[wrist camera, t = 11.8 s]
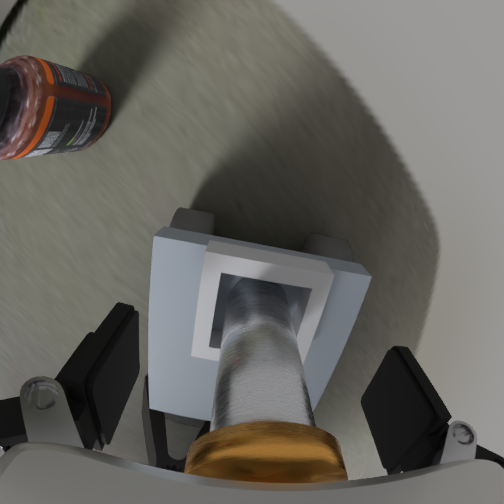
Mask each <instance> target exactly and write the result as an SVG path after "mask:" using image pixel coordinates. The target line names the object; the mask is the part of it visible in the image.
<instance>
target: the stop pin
mask: <svg viewBox="0 0 504 504" xmlns="http://www.w3.org/2000/svg"><path fill="white" fill-rule="evenodd" d="M184 473H186V474H191V475H197V476H204V477H210V478H218V479H226V480H235V481H247V482H263V483H322V482H338V481H348V476H347V472H346V468H345V464H344V460H343V456H342V452H341V448H340V445H339V443H338V441H337V440H336V438H335V437H334V436H332V435H331V434H330V433H328V432H326V431H324V430H322V429H320V428H317V427H316V425H315V421H314V416H313V411H312V406H311V402H310V397H309V393H308V388H307V383H306V379H305V374H304V370H303V365H302V361H301V357H300V352H299V348H298V343H297V339H296V335H295V330H294V326H293V322H292V318H291V313H290V309H289V305H288V301H287V297H286V293H285V291H284V289H283V288H282V287H281V285H280V284H278V283H276V282H270V281H264V280H259V279H253V278H248V277H247V278H245V279H243V280H241V281H239V282H238V283H236V284H235V285H234V286H233V288H232V289H231V291H230V292H229V295H228V298H227V305H226V312H225V319H224V327H223V334H222V341H221V348H220V356H219V363H218V370H217V378H216V386H215V393H214V401H213V409H212V417H211V425H210V432H209V433H206V434H205V435H203V436H201V437H199V438H198V439H197V440H195V441H194V442H193V443H192V444H191V446H190V447H189V449H188V453H187V458H186V464H185V470H184Z"/></svg>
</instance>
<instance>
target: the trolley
mask: <svg viewBox="0 0 504 504" xmlns="http://www.w3.org/2000/svg"><path fill="white" fill-rule="evenodd" d="M214 224H215V214H214V213H209V212H203V211H198V210H192V209H186V208H178V209H177V211H176V212H175V214H174V216H173V219H172V222H171V224H170V227H163V228H162V229H161V230H160V231H159V232H157V233H156V234H155V235H154V240H153V251H152V264H151V278H150V296H149V322H148V383H149V408H150V409H154V410H158V411H162V412H167V413H171V414H176V415H180V416H185V417H190V418H196V419H201V420H207V421H211V417H212V409H213V401H214V393H215V386H216V378H217V370H218V363H219V356H220V348H221V341H222V334H223V327H224V319H225V312H226V305H227V298H228V295H229V292H230V291H231V289H232V288H233V286H234V285H235V284H236V283H238V282H239V281H241V280H243V279H245V278H247V277H248V278H253V279H259V280H264V281H270V282H276V283H278V284H280V285H281V287H282V288H283V289H284V291H285V293H286V297H287V301H288V305H289V309H290V313H291V318H292V322H293V326H294V330H295V335H296V339H297V343H298V348H299V352H300V357H301V361H302V365H303V370H304V374H305V379H306V383H307V388H308V393H309V397H310V402H311V406H312V411H314V409H315V407H316V406H317V404H318V402H319V400H320V398H321V396H322V394H323V392H324V390H325V388H326V386H327V384H328V382H329V380H330V377H331V375H332V373H333V371H334V369H335V367H336V365H337V362H338V360H339V358H340V356H341V354H342V351H343V349H344V347H345V345H346V342H347V340H348V338H349V335H350V333H351V330H352V328H353V326H354V323H355V321H356V318H357V316H358V313H359V310H360V308H361V305H362V303H363V300H364V297H365V295H366V292H367V289H368V287H369V284H370V281H371V278H372V276H371V275H370V274H369V273H368V271H367V270H366V269H365V268H364V267H363V266H362V265H361V264H359V263H354V262H353V256H352V250H351V247H350V244H349V243H348V241H346V240H344V239H339V238H334V237H330V236H325V235H320V234H316V233H311V234H310V235H309V236H308V238H307V239H306V241H305V244H304V246H303V249H302V252H297V251H292V250H287V249H282V248H277V247H271V246H266V245H261V244H256V243H250V242H245V241H240V240H234V239H229V238H224V237H218V236H213V232H214Z"/></svg>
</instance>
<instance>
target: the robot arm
mask: <svg viewBox="0 0 504 504" xmlns="http://www.w3.org/2000/svg"><path fill="white" fill-rule="evenodd" d="M139 369H140V363H139V313H138V311H135V310H134V306H132V305H128V304H124V303H120V302H118V303H117V304H116V305H115V306H114V308H113V309H112V310H111V311H110V313H109V314H108V315H107V317H106V318H105V319H104V321H103V322H102V323H101V325H100V326H99V327H98V329H97V330H96V331H95V333H94V332H89V333H88V334H87V335H86V337H85V338H84V339H83V341H82V342H81V343H80V345H79V346H78V347H77V349H76V350H75V351H74V353H73V354H72V356H71V357H70V358H69V360H68V361H67V362H66V364H65V365H64V367H63V368H62V369H61V371H60V372H59V374H58V375H57V377H56V378H55V379H52V378H49V377H45V376H42V377H35V378H31V379H30V380H28V381H26V382H25V383H24V385H23V386H22V388H21V390H20V396H19V397H14V398H9V399H4V400H0V504H504V458H503V457H501V456H499V455H497V454H495V453H493V452H491V451H489V450H487V449H485V448H483V447H481V446H479V445H477V435H476V432H475V431H474V429H473V428H472V427H471V426H470V425H469V424H467V423H466V422H463V421H454V422H452V423H451V424H450V425H448V423H447V422H448V421H449V420H450V419H451V417H452V416H451V415H450V413H449V411H448V410H447V408H446V406H445V405H444V403H443V401H442V400H441V398H440V397H439V395H438V393H437V391H436V390H435V388H434V387H433V385H432V383H431V382H430V380H429V379H428V377H427V376H426V374H425V373H424V371H423V370H422V368H421V367H420V365H419V363H418V362H417V360H416V359H415V357H414V356H413V354H412V353H411V351H410V350H409V348H408V347H403V346H393V347H392V348H391V349H390V350H388V351H387V353H386V355H385V357H384V359H383V361H382V363H381V364H380V366H379V368H378V370H377V372H376V374H375V375H374V377H373V379H372V381H371V382H370V384H369V386H368V388H367V389H366V391H365V393H364V394H363V396H362V398H361V406H362V408H363V411H364V414H365V417H366V419H367V422H368V425H369V428H370V431H371V433H372V436H373V439H374V442H375V445H376V448H377V451H378V454H379V457H380V459H381V462H382V465H383V467H384V468H385V469H386V470H387V473H388V475H387V476H380V477H374V478H366V479H358V480H349V481H338V482H322V483H263V482H247V481H235V480H226V479H218V478H210V477H204V476H197V475H191V474H186V473H181V472H176V471H171V470H166V469H161V468H157V467H152V466H148V465H144V464H140V463H136V462H133V461H129V460H125V459H122V458H118V457H115V456H111V455H107V454H104V453H100V452H97V451H93V450H92V449H93V448H95V449H98V450H101V451H102V449H103V447H104V444H107V445H109V444H110V442H111V440H112V437H113V435H114V432H115V430H116V427H117V425H118V422H119V420H120V417H121V415H122V412H123V410H124V408H125V405H126V403H127V400H128V398H129V396H130V393H131V391H132V389H133V386H134V384H135V382H136V379H137V377H138V374H139ZM401 471H403V473H400V472H401Z"/></svg>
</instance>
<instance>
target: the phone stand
mask: <svg viewBox="0 0 504 504" xmlns="http://www.w3.org/2000/svg"><path fill="white" fill-rule="evenodd" d="M142 419H143V426H144V434H145V441H146V447H147V454H148V459H149V465H150V466H152V467H157V468H161V469H166V470H171V471H176V472H181V473H184V470H185V464H186V458H187V456H186V457H185V458H184V459H183V460H174V459H172V458H171V457H170V456H169V454H168V449H167V438H166V426H165V419H167V420H170V421H174V422H178V423H181V424H185V425H189V426H193V427H197V428H202V429H201V430H200V432H199V434H198V436H197V438H196V440H197V439H198V438H199V437H201V436H203V435H205V434H206V433H209V432H210V425H211V421H207V420H201V419H196V418H190V417H185V416H180V415H176V414H171V413H167V412H162V411H158V410H154V409H150V408H149V383H148V375H147V376H145V383H144V393H143V404H142Z"/></svg>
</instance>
